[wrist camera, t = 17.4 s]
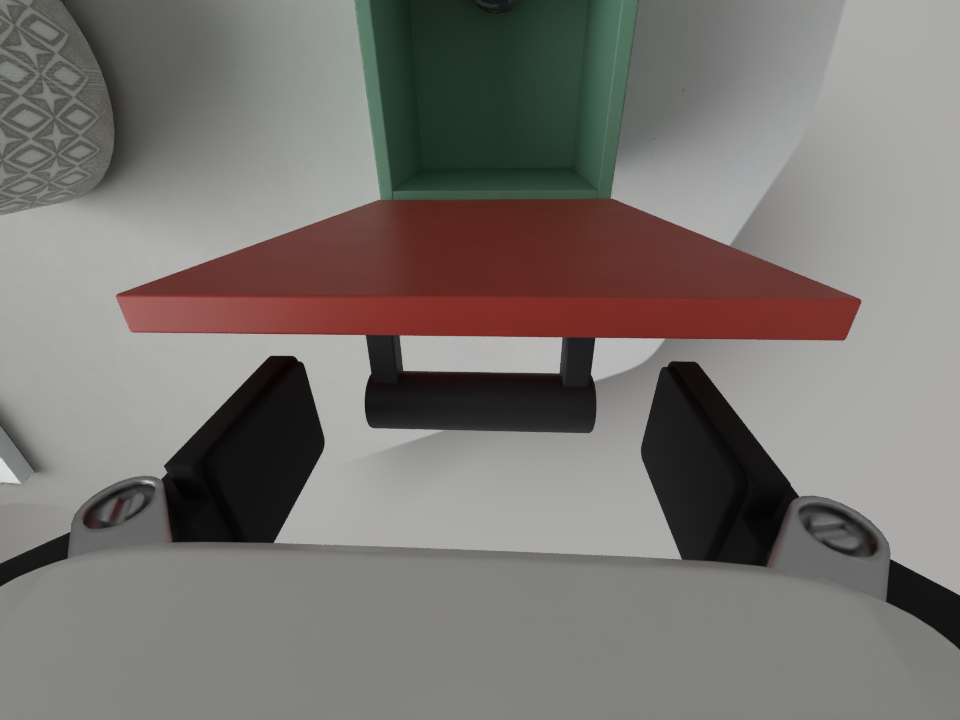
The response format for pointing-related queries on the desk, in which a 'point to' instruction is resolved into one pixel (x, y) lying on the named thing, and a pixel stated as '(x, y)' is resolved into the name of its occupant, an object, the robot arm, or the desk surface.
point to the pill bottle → (496, 6)
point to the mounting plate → (12, 462)
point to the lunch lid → (491, 298)
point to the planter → (49, 108)
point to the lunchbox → (495, 97)
